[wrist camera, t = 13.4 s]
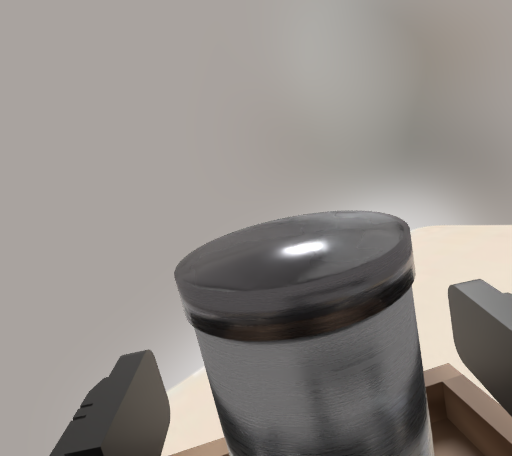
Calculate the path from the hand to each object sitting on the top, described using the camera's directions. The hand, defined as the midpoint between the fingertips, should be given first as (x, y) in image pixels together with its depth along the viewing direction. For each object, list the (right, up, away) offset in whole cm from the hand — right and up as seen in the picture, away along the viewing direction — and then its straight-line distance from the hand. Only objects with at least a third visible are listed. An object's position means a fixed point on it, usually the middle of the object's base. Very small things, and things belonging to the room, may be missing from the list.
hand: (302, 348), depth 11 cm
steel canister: (+2, -8, 0) cm, 9 cm away
